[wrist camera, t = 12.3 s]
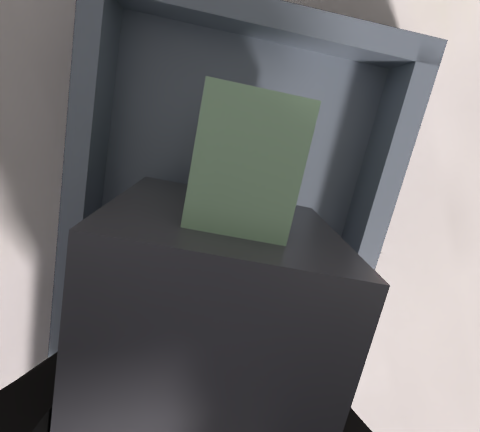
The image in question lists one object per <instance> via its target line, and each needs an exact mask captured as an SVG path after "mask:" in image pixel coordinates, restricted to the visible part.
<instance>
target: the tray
mask: <svg viewBox="0 0 480 432" xmlns="http://www.w3.org/2000/svg"><path fill="white" fill-rule="evenodd" d="M447 41H448V40H445V39H441V38H437V37H433V36H428V35H424V34H420V33H416V32H412V31H408V30H403V29H399V28H395V27H391V26H387V25H383V24H378V23H374V22H370V21H366V20H362V19H357V18H353V17H349V16H345V15H341V14H337V13H332V12H328V11H324V10H320V9H316V8H311V7H307V6H303V5H299V4H295V3H291V2H286V1H282V0H76V10H75V23H74V35H73V48H72V61H71V73H70V86H69V98H68V111H67V124H66V136H65V149H64V161H63V174H62V186H61V199H60V212H59V224H58V237H57V249H56V262H55V275H54V287H53V300H52V312H51V325H50V338H49V350H48V358H49V357H50V356H52V355H53V354H54V353H56V352H57V351H58V341H59V331H60V320H61V309H62V298H63V288H64V277H65V266H66V255H67V245H68V234H69V229H70V228H72V227H73V226H75V225H76V224H78V223H79V222H80V221H82V220H83V219H85V218H86V217H88V216H89V215H91V214H92V213H93V212H95V211H96V210H98V209H99V208H101V207H102V206H104V205H105V204H107V203H108V202H109V201H111V200H112V199H114V198H115V197H117V196H118V195H120V194H121V193H123V192H124V191H125V190H127V189H128V188H130V187H131V186H133V185H134V184H136V183H137V182H138V181H140V180H141V179H143V178H144V177H151V178H156V179H162V180H167V181H172V182H177V183H183V184H188V179H189V173H190V167H191V161H192V155H193V149H194V143H195V137H196V131H197V126H198V120H199V114H200V108H201V102H202V96H203V90H204V84H205V78H206V76H209V77H213V78H218V79H223V80H227V81H232V82H236V83H241V84H246V85H250V86H255V87H259V88H264V89H269V90H273V91H278V92H282V93H287V94H292V95H296V96H301V97H306V98H310V99H315V100H319V101H321V105H320V109H319V113H318V117H317V121H316V125H315V129H314V134H313V138H312V142H311V146H310V150H309V154H308V158H307V162H306V167H305V171H304V175H303V179H302V183H301V187H300V191H299V195H298V199H297V204H296V205H298V206H304V207H309V208H312V209H313V210H314V211H315V212H316V213H317V214H318V215H319V216H320V217H321V218H322V219H323V220H324V221H325V222H326V223H327V224H328V225H329V226H330V227H331V228H332V229H333V230H334V231H335V232H336V233H337V234H338V235H339V236H340V237H341V238H342V239H343V240H344V241H345V242H347V243H348V244H349V245H350V246H351V247H352V248H353V249H354V250H355V251H356V252H357V253H358V254H359V255H360V256H361V257H362V258H363V259H364V260H365V261H366V262H367V263H368V264H369V265H370V266H371V267H372V268H373V269H374V270H375V268H376V265H377V261H378V258H379V255H380V252H381V249H382V246H383V242H384V239H385V236H386V233H387V230H388V227H389V224H390V220H391V217H392V214H393V211H394V208H395V205H396V201H397V198H398V195H399V192H400V189H401V186H402V183H403V179H404V176H405V173H406V170H407V167H408V164H409V160H410V157H411V154H412V151H413V148H414V145H415V142H416V138H417V135H418V132H419V129H420V126H421V123H422V119H423V116H424V113H425V110H426V107H427V104H428V101H429V97H430V94H431V91H432V88H433V85H434V82H435V78H436V75H437V72H438V69H439V66H440V63H441V60H442V56H443V53H444V50H445V47H446V44H447Z"/></svg>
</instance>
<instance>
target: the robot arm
mask: <svg viewBox="0 0 480 432" xmlns="http://www.w3.org/2000/svg"><path fill="white" fill-rule="evenodd" d="M57 352H58V351H57ZM57 352H56V353H54V354H53V355H52V356H50V357H49V358H47V359H46V360H45V361H43V362H42V363H40V364H39V365H37V366H36V367H35V368H33V369H32V370H30V371H29V372H27V373H26V374H25V375H23V376H22V377H20V378H19V379H17V380H15V381H14V382H12V383H11V384H9V385H8V386H6V387H4V388H3V389H1V390H0V432H50V427H51V417H52V406H53V395H54V384H55V374H56V363H57ZM343 432H372V431H371V430H370V429H369V428H368V427H367V426H366V424H365V423H364V422H363V421H362V420H361V419H360V418H359V417H358V415H357V414H356V413H355V412H354V411H353V410H352V408H350V411H349V414H348V417H347V420H346V423H345V426H344V429H343Z"/></svg>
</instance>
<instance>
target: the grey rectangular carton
mask: <svg viewBox="0 0 480 432" xmlns="http://www.w3.org/2000/svg"><path fill="white" fill-rule="evenodd" d="M320 105H321V101H319V100H315V99H310V98H306V97H301V96H296V95H292V94H287V93H282V92H278V91H273V90H269V89H264V88H259V87H255V86H250V85H246V84H241V83H236V82H232V81H227V80H223V79H218V78H213V77H209V76H206V78H205V84H204V90H203V96H202V102H201V108H200V114H199V120H198V126H197V131H196V137H195V143H194V149H193V155H192V161H191V167H190V173H189V179H188V184H183V183H177V182H172V181H167V180H162V179H156V178H151V177H144V178H143V179H141V180H140V181H138V182H137V183H136V184H134V185H133V186H131V187H130V188H128V189H127V190H125V191H124V192H123V193H121V194H120V195H118V196H117V197H115V198H114V199H112V200H111V201H109V202H108V203H107V204H105V205H104V206H102V207H101V208H99V209H98V210H96V211H95V212H93V213H92V214H91V215H89V216H88V217H86V218H85V219H83V220H82V221H80V222H79V223H78V224H76V225H75V226H73V227H72V228H70V229H69V234H68V245H67V255H66V266H65V277H64V288H63V298H62V309H61V320H60V331H59V341H58V352H57V363H56V374H55V384H54V395H53V406H52V417H51V427H50V432H343V429H344V426H345V423H346V420H347V417H348V414H349V411H350V408H351V405H352V402H353V398H354V395H355V392H356V389H357V386H358V383H359V380H360V377H361V374H362V371H363V367H364V364H365V361H366V358H367V355H368V352H369V349H370V346H371V343H372V340H373V336H374V333H375V330H376V327H377V324H378V321H379V318H380V315H381V312H382V309H383V305H384V302H385V299H386V296H387V293H388V290H389V287H390V285H389V284H388V283H387V282H386V281H385V280H384V279H383V278H382V277H381V276H380V275H379V274H378V273H377V272H376V271H375V270H374V269H373V268H372V267H371V266H370V265H369V264H368V263H367V262H366V261H365V260H364V259H363V258H362V257H361V256H360V255H359V254H358V253H357V252H356V251H355V250H354V249H353V248H352V247H351V246H350V245H349V244H348V243H347V242H345V241H344V240H343V239H342V238H341V237H340V236H339V235H338V234H337V233H336V232H335V231H334V230H333V229H332V228H331V227H330V226H329V225H328V224H327V223H326V222H325V221H324V220H323V219H322V218H321V217H320V216H319V215H318V214H317V213H316V212H315V211H314V210H313V209H312V208H309V207H304V206H298V205H296V204H297V199H298V195H299V191H300V187H301V183H302V179H303V175H304V171H305V167H306V162H307V158H308V154H309V150H310V146H311V142H312V138H313V134H314V129H315V125H316V121H317V117H318V113H319V109H320Z"/></svg>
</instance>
